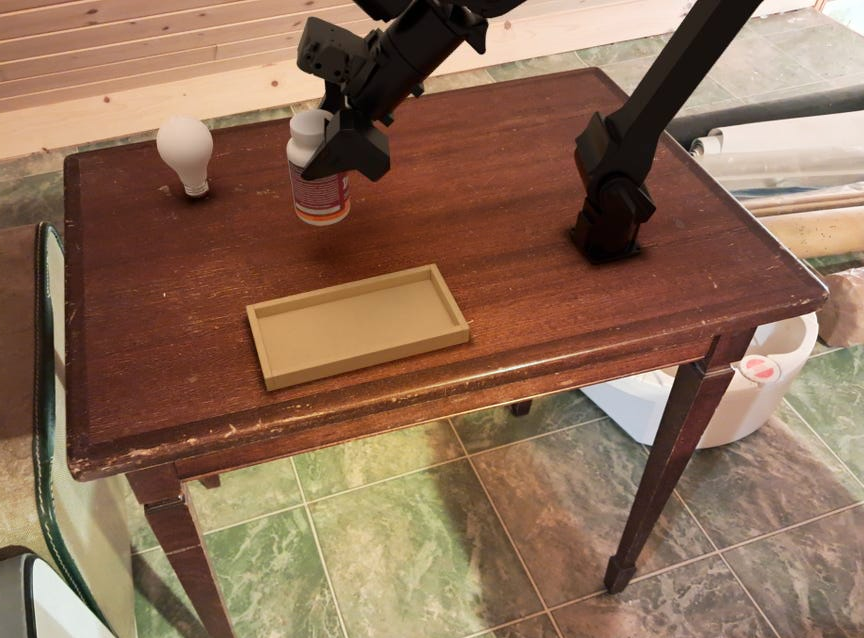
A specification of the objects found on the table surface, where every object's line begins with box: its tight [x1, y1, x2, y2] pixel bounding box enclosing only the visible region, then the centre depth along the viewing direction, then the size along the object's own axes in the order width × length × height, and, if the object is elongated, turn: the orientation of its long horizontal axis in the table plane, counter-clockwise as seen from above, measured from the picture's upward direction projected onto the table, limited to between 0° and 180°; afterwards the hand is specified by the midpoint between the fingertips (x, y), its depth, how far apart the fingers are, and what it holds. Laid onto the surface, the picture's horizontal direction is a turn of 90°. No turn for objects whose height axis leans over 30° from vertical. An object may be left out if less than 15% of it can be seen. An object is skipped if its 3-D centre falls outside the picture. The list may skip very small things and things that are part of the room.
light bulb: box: [156, 114, 214, 199], centre depth 89 cm, size 7×7×11 cm
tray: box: [245, 263, 471, 392], centre depth 77 cm, size 22×11×2 cm, turn 107°
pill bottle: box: [286, 108, 351, 227], centre depth 76 cm, size 6×6×11 cm
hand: (304, 159), depth 76 cm, fingers closed on pill bottle, 6 cm apart
